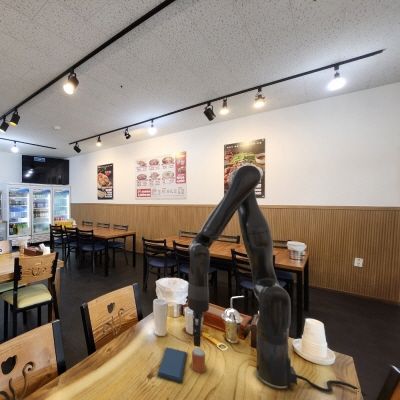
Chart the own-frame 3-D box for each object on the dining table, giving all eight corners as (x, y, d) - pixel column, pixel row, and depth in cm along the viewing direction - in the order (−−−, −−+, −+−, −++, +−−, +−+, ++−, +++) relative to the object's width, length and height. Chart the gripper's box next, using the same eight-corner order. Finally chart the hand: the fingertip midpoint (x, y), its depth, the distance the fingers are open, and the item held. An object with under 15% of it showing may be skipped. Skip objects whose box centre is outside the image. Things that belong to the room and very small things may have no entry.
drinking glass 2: (166, 330, 110) (166, 298, 110) (168, 338, 103) (168, 304, 103) (152, 329, 110) (152, 298, 111) (153, 337, 104) (153, 304, 104)
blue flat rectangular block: (186, 354, 92) (186, 351, 92) (181, 383, 77) (181, 379, 77) (166, 349, 95) (166, 346, 95) (157, 376, 80) (157, 372, 80)
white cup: (203, 329, 110) (203, 309, 110) (199, 337, 103) (199, 315, 104) (187, 325, 114) (187, 305, 114) (182, 332, 108) (182, 311, 108)
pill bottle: (205, 365, 85) (205, 349, 86) (205, 373, 81) (204, 356, 81) (192, 362, 87) (192, 346, 87) (191, 370, 83) (191, 353, 83)
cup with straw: (224, 332, 107) (224, 290, 108) (245, 339, 102) (245, 294, 102) (219, 341, 101) (218, 295, 101) (242, 349, 95) (241, 301, 96)
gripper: (208, 304, 77) (208, 353, 77) (209, 290, 90) (209, 332, 90) (185, 301, 80) (185, 347, 79) (189, 287, 93) (189, 327, 93)
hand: (197, 339), depth 85 cm, fingers open, 8 cm apart
